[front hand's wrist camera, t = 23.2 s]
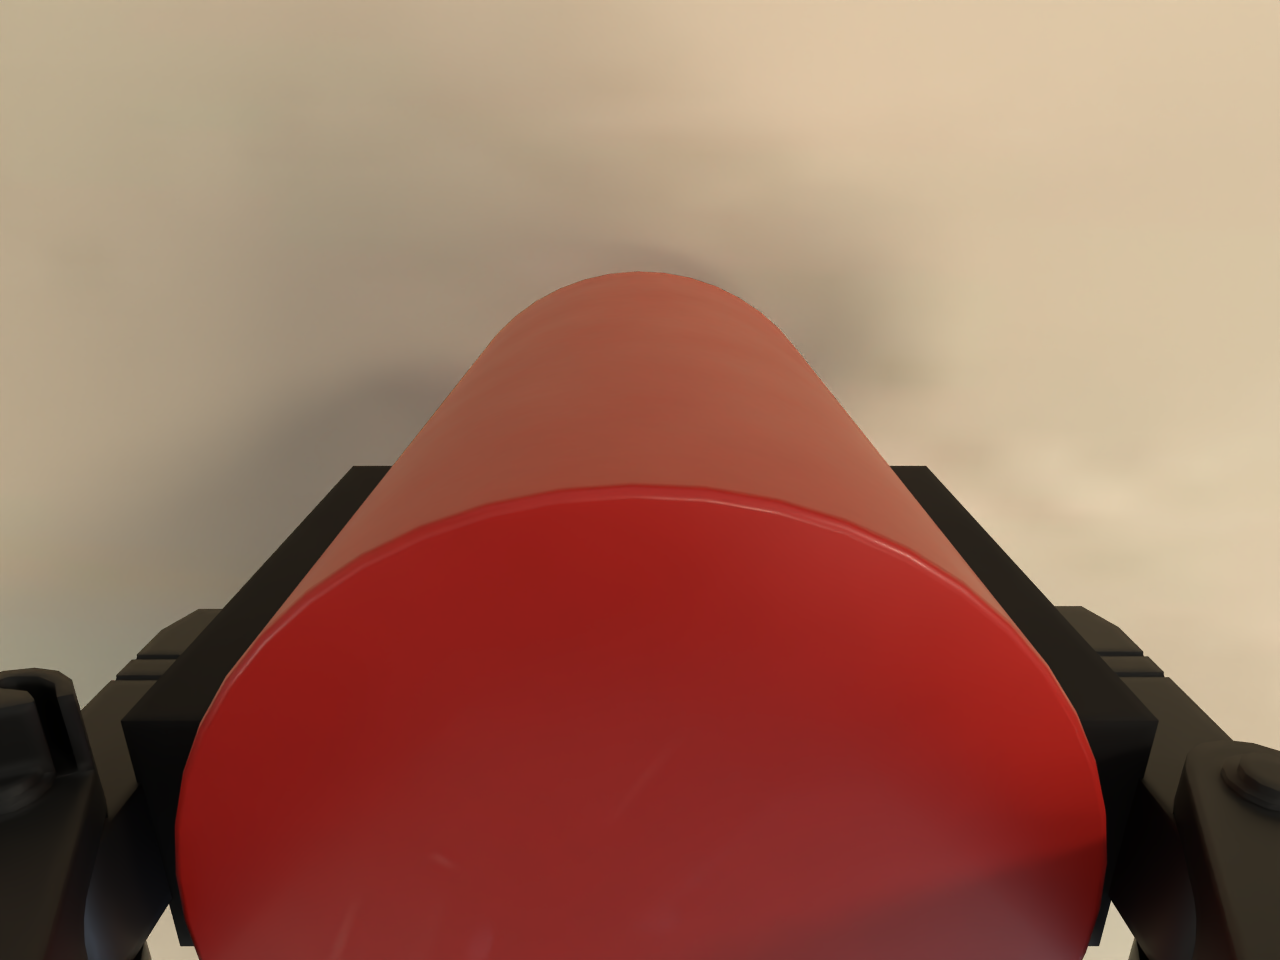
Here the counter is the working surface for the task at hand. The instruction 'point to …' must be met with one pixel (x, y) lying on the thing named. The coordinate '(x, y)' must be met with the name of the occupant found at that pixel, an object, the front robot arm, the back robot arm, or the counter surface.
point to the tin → (640, 686)
